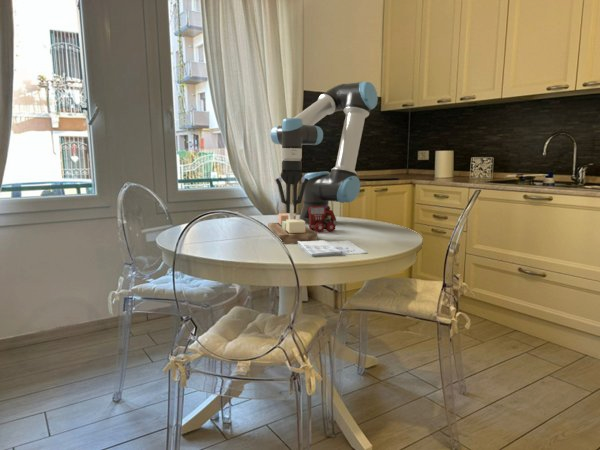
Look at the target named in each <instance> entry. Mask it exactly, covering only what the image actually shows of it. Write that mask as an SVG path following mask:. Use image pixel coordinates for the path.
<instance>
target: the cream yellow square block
mask: <svg viewBox="0 0 600 450" xmlns="http://www.w3.org/2000/svg"><path fill="white" fill-rule="evenodd" d="M305 225H306V224H305V221H304V220H302V219H297V218H296V219H291V220H286V231H288V232H289V233H305Z"/></svg>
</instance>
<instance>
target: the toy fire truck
mask: <svg viewBox="0 0 600 450" xmlns="http://www.w3.org/2000/svg"><path fill="white" fill-rule="evenodd" d="M308 213H309V224H308V228H310V229H311V230H313V231H314V232H315V233H317V234H318V233H323V231H327V232H329V233H332V232H334V231H335V230H336V226H337V217H336V215H335V213H334V211H333V210H332V209H331V207H330V206H329V205H328V206H326V207H309V209H308ZM330 219H331V220H330Z"/></svg>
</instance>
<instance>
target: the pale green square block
mask: <svg viewBox="0 0 600 450" xmlns="http://www.w3.org/2000/svg"><path fill="white" fill-rule="evenodd" d="M282 229H284V230H286V221H282Z"/></svg>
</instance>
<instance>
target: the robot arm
mask: <svg viewBox="0 0 600 450" xmlns="http://www.w3.org/2000/svg"><path fill="white" fill-rule="evenodd" d="M376 89H377V88H376V87H375V85H374V84H373V83H372V82H371V81H359V82H350V83H341V84H338V85H335V86H333V87H332V88H330V89H328V90H326V91H325V92H324V93H322V94H320V95H319V97H318V98H317V100H316V101H315V102H313V103H312V104H311V105H309V106H308V107H307V108H305V109H304V110H302V111H301V112H300V113H298V114H297V115H296V116H294V117H286V118H284V119H282V123H281V124H282V125H275V126H274V127H272V129H271V130H270V140H271V141H272V143H273V144H275V145H280V146H281V159H282V161H281V173H280V175H279V176H278V177H275V179H274V182H275V183H276V185H277V188H278V194H279V197H280V201H281V202H280V203H282V204H285V212H286V213H289V220H291V219H294V214H296V213H297V205H298V204H301V203H302V202H303V206H302V208H301V211H300V215H299V219H302V220H304V221H305V225H309V213H308V209H309V207H326V206H329V202H337V203H341V204H344V203H348V204H349V203H352V202H354V201H355V200H356V199H357V197H358V196H359V194H360V190H361V184H360V183H361V182H360V179H359V177H358V173H357V172H356V170H355V169H356V165H357V160H358V159H357V158H358V156H359V150H360V144H361V140H362V134H363V130H364V125H365V119H366V118H368V117H369V115H370V113H371V110H373V109H375V108H376V107H377V105H378V93H377V90H376ZM340 111H343V113H344V114H345V119H344V121H343V127H342V132H341V137H340V141H339V146H338V147H339V148H338V152H337V156H336V158H337V159H336V162H335V166H334V167H333V168H331V171H330V172H329V171H316V172H307V173H305V174H303V172H302V170H303V169H302V168H303V167H302V166H303V164H302V162H303V161H302V158H303V156H302V155H303V154H302V153H303V150H302V148H303V145H305V146H308V145H310V146H316V145H319V144H321V142H322V141H323V139H324V131H323V129H322V128H321V127H320V126H317V125H316V124H317V123H318V122H319V121H321V120H322V119H323V118H325V117H326V116H327V115H328V116H329V115H333V114H334V113H335V112H340ZM303 175H304V176H303ZM282 182H284V183H285V192H284V189H283V185H282ZM299 182H301V183H300V188H299V191H298V184H299ZM291 185H292V187H291ZM291 188H292V191H291ZM284 193H285V194H284ZM291 193H292V195H291ZM291 196H292V204H291ZM330 220H331V219H330Z"/></svg>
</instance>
